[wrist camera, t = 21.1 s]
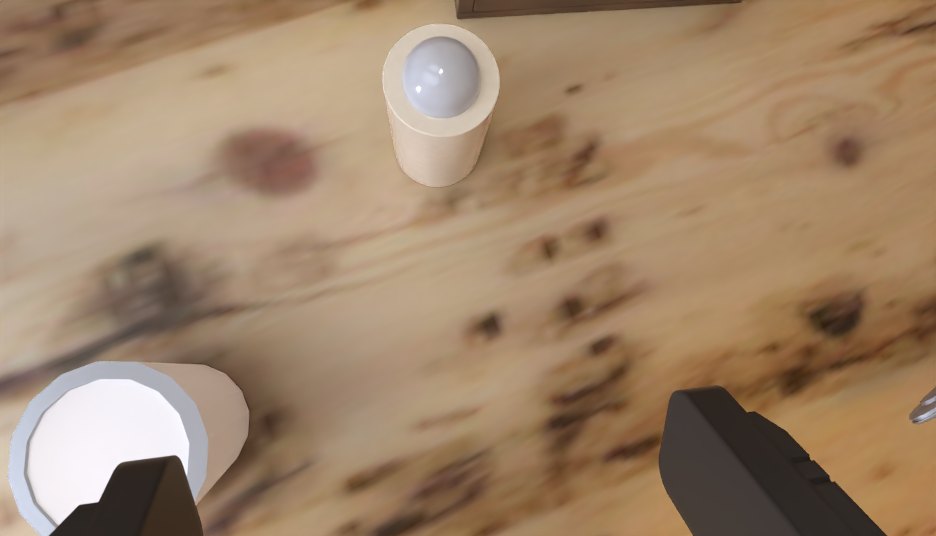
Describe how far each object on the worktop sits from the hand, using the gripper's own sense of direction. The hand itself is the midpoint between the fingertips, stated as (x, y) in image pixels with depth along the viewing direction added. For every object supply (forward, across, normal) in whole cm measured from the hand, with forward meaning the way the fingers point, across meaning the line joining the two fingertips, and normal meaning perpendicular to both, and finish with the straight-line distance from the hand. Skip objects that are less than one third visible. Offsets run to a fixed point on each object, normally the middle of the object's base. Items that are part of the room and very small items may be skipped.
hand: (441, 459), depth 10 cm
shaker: (+22, -3, 0) cm, 22 cm away
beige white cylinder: (+16, +10, +12) cm, 22 cm away
